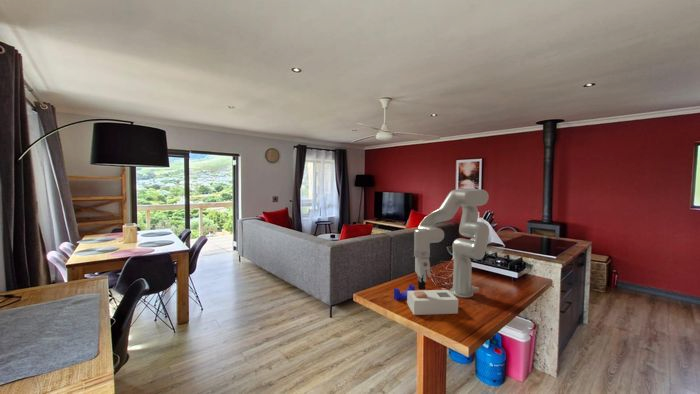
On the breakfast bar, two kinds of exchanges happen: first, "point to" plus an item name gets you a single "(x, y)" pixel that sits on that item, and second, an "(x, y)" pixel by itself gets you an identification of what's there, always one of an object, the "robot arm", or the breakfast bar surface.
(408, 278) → the breakfast bar surface
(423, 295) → the dusty pink cube
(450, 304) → the block
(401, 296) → the blue curved piece
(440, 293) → the charcoal plunger
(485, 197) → the robot arm
